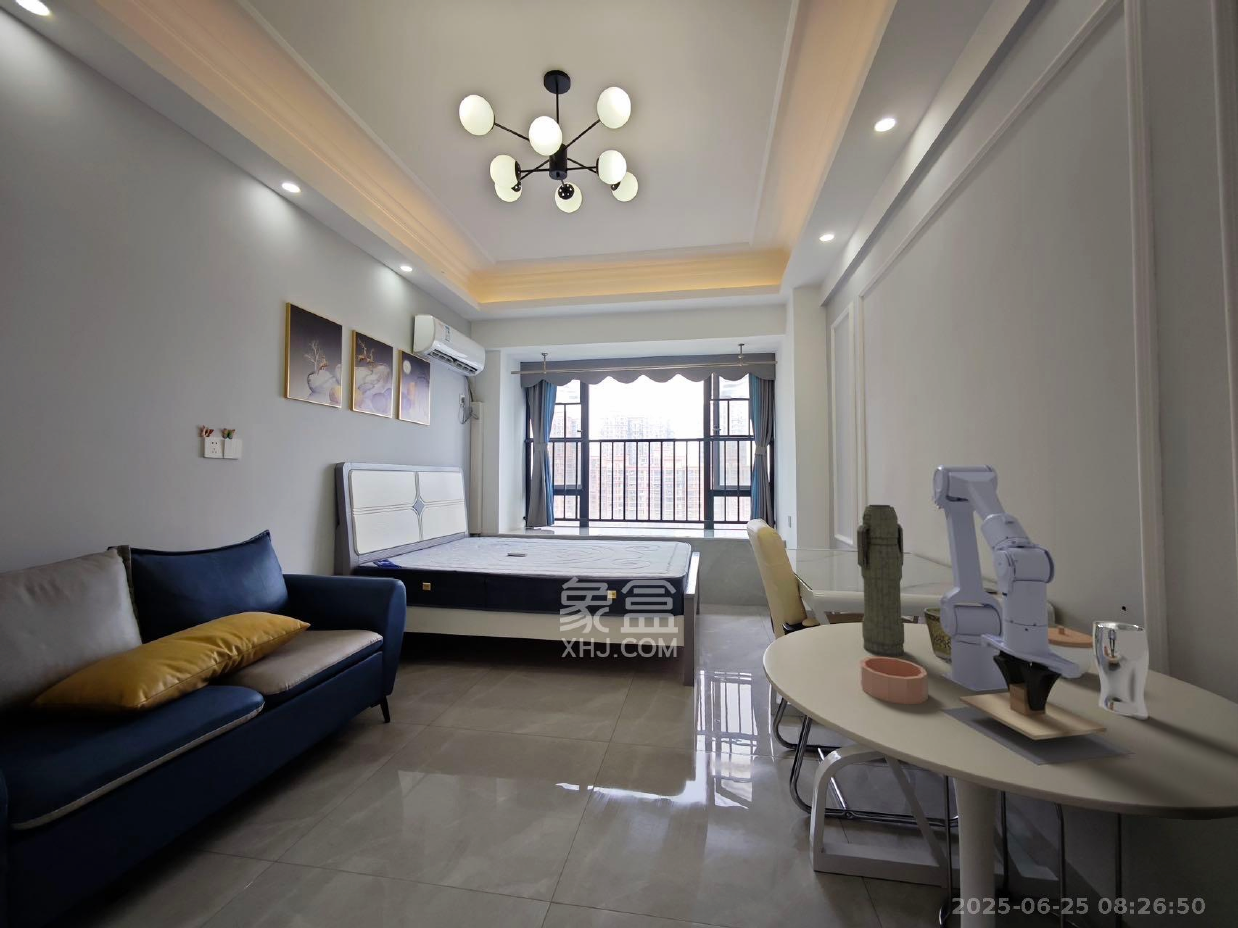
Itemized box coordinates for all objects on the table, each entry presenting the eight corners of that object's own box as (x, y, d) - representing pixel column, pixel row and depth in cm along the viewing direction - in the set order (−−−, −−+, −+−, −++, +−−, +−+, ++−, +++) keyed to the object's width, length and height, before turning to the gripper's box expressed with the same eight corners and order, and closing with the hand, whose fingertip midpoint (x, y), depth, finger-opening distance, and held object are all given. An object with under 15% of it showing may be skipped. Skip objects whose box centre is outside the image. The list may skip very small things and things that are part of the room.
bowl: (897, 679, 100) (897, 655, 101) (941, 703, 90) (940, 675, 90) (849, 683, 99) (848, 658, 99) (887, 708, 88) (887, 680, 88)
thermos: (849, 646, 120) (846, 504, 122) (886, 641, 124) (882, 503, 126) (879, 659, 112) (875, 506, 113) (917, 652, 116) (913, 505, 117)
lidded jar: (1112, 682, 98) (1110, 635, 99) (1053, 679, 100) (1051, 633, 100) (1071, 663, 109) (1070, 620, 109) (1018, 660, 110) (1017, 618, 111)
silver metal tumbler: (1142, 725, 81) (1138, 633, 82) (1087, 708, 87) (1084, 623, 88) (1158, 715, 85) (1154, 627, 85) (1104, 699, 91) (1100, 618, 91)
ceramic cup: (958, 666, 108) (957, 620, 108) (915, 651, 117) (914, 609, 117) (994, 657, 113) (993, 613, 113) (950, 644, 122) (949, 603, 122)
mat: (1022, 704, 89) (1022, 701, 89) (1134, 755, 72) (1134, 752, 72) (940, 712, 86) (940, 709, 86) (1037, 768, 69) (1037, 764, 69)
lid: (1022, 694, 87) (1021, 668, 87) (1106, 731, 74) (1105, 700, 74) (959, 700, 85) (958, 673, 85) (1034, 739, 72) (1033, 708, 72)
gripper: (1094, 633, 73) (1098, 725, 73) (1003, 608, 88) (1006, 684, 87) (1055, 636, 72) (1059, 729, 72) (969, 610, 87) (972, 688, 86)
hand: (1027, 705), depth 79 cm, fingers closed on lid, 2 cm apart
